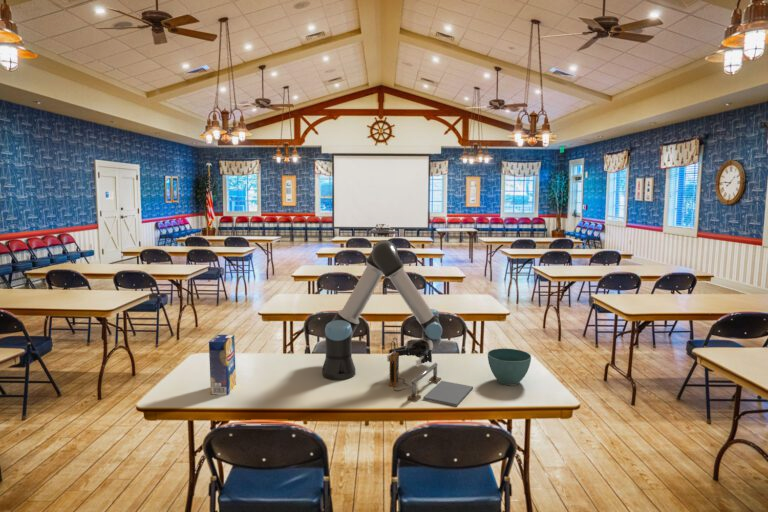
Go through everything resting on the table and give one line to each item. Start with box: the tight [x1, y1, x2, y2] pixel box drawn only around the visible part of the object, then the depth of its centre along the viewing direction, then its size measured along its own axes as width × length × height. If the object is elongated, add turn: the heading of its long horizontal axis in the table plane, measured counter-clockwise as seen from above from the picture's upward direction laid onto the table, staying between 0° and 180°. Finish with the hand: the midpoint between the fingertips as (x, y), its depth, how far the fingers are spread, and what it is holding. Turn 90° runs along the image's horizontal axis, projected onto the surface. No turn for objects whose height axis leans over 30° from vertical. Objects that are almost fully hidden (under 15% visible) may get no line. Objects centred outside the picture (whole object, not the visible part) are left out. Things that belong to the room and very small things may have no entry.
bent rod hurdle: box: [407, 362, 442, 402], centre depth 206 cm, size 4×26×8 cm, turn 152°
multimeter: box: [389, 337, 412, 392], centre depth 210 cm, size 15×10×20 cm
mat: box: [422, 380, 474, 407], centre depth 202 cm, size 14×20×1 cm
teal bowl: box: [487, 347, 532, 386], centre depth 215 cm, size 18×18×12 cm
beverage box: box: [208, 334, 237, 396], centre depth 204 cm, size 7×11×22 cm, turn 0°
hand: (402, 361), depth 209 cm, fingers open, 13 cm apart
